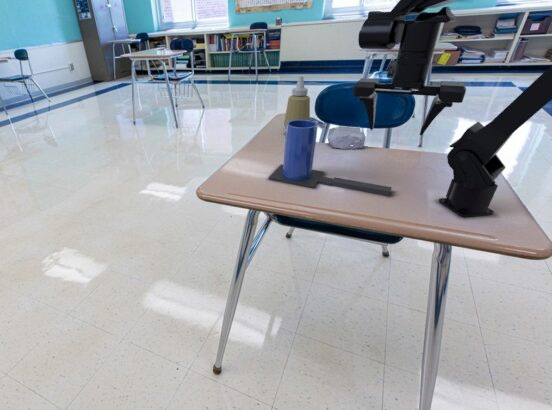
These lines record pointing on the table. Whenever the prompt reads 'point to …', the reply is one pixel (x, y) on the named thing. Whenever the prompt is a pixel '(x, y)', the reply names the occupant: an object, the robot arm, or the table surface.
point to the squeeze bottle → (298, 103)
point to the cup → (299, 149)
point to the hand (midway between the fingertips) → (395, 132)
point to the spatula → (330, 182)
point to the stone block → (346, 137)
